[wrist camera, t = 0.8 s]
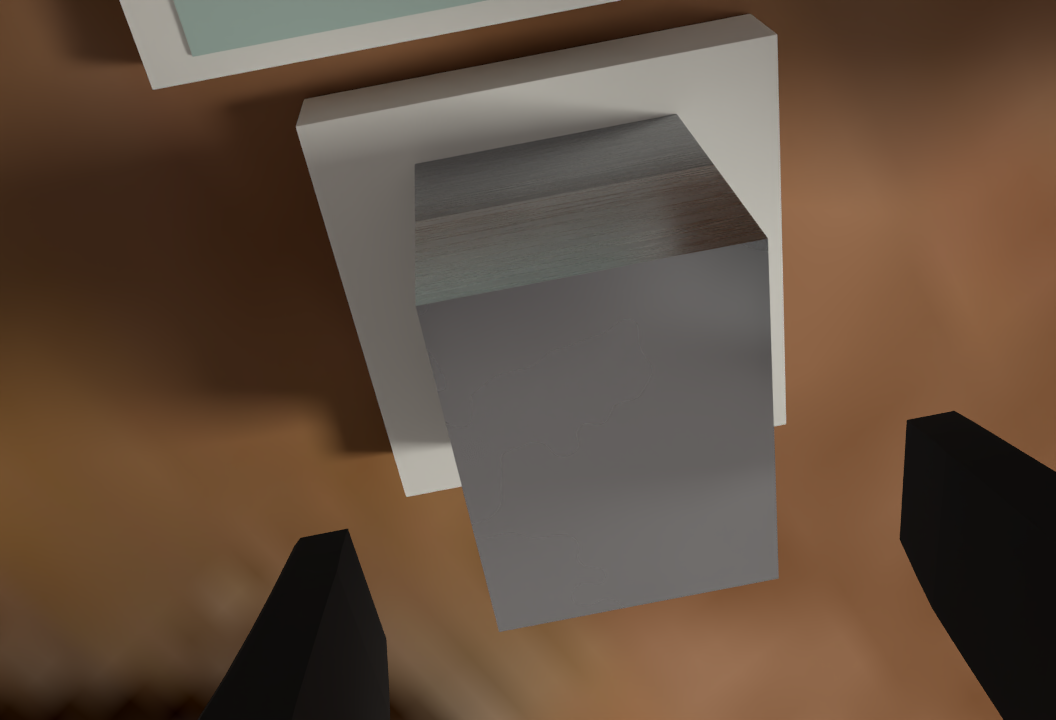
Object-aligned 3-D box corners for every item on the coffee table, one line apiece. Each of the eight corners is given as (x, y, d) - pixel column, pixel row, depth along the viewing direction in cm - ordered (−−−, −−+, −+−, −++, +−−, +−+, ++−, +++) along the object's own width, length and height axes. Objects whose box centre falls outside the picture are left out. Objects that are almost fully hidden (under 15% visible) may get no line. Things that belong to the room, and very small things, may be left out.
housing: (676, 113, 16) (768, 237, 12) (699, 400, 20) (778, 578, 15) (414, 164, 16) (415, 305, 12) (480, 443, 20) (498, 632, 15)
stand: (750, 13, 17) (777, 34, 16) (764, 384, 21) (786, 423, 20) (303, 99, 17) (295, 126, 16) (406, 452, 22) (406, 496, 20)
